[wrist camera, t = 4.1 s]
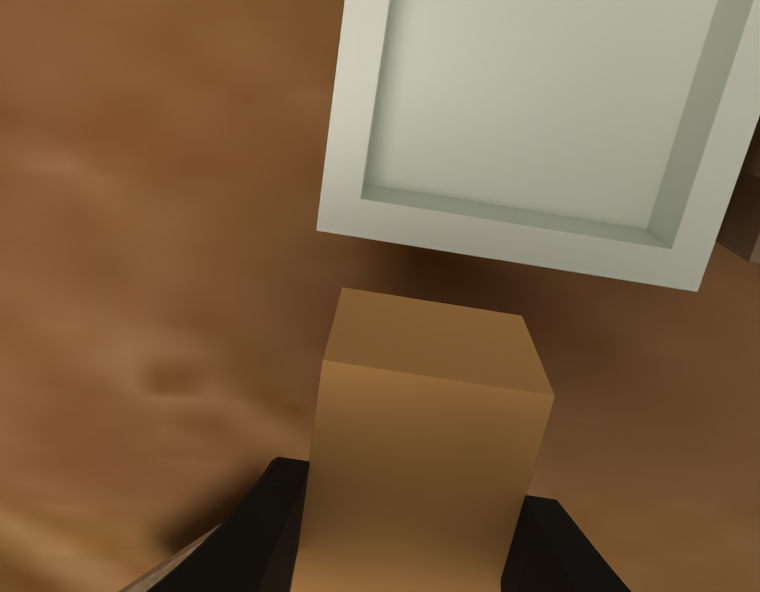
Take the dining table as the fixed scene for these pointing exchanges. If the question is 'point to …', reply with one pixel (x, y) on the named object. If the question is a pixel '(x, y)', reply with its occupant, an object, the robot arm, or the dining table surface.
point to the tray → (544, 130)
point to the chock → (419, 447)
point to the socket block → (745, 207)
